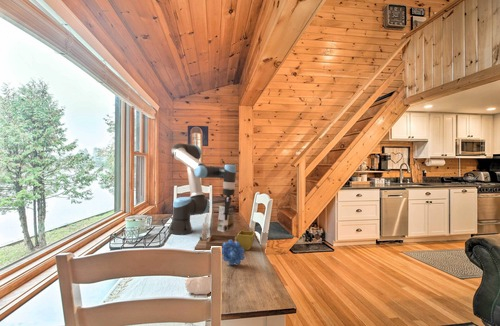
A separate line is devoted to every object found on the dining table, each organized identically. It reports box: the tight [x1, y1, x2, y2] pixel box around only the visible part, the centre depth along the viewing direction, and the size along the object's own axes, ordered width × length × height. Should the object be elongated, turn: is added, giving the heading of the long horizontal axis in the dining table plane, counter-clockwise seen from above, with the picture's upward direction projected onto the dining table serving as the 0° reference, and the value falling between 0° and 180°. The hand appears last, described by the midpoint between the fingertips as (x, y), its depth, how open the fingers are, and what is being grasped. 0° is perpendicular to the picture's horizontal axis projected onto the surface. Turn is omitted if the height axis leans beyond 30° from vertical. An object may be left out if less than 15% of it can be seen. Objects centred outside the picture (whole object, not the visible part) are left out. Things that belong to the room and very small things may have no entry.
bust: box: [185, 277, 210, 296], centre depth 91 cm, size 12×8×11 cm
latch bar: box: [201, 222, 208, 240], centre depth 146 cm, size 10×2×2 cm
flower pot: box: [236, 230, 256, 251], centre depth 141 cm, size 9×9×9 cm
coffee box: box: [217, 204, 237, 234], centre depth 158 cm, size 9×6×16 cm
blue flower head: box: [221, 239, 246, 266], centre depth 115 cm, size 12×7×12 cm, turn 95°
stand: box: [194, 234, 238, 251], centre depth 141 cm, size 16×22×5 cm
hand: (226, 222), depth 158 cm, fingers closed on coffee box, 11 cm apart
